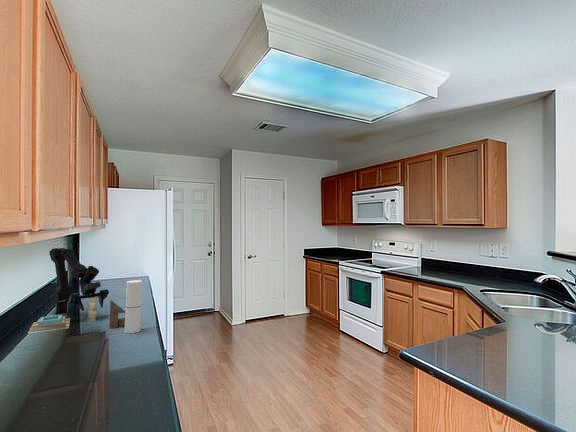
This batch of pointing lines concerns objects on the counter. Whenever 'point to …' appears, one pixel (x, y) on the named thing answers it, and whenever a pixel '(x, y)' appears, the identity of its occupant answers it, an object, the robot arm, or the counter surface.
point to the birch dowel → (92, 308)
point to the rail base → (49, 326)
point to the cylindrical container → (133, 306)
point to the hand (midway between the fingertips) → (92, 308)
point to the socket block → (50, 320)
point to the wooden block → (116, 315)
